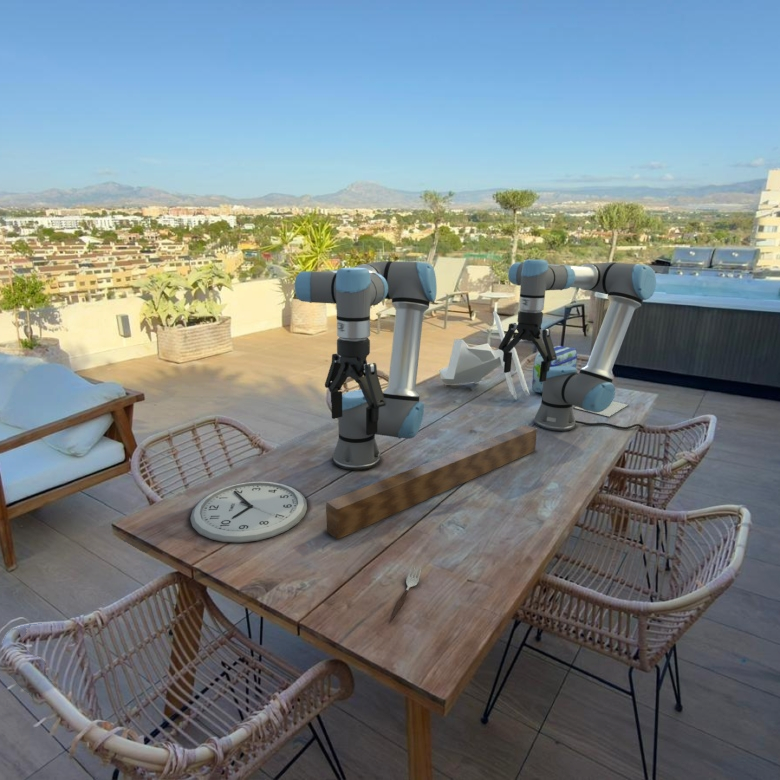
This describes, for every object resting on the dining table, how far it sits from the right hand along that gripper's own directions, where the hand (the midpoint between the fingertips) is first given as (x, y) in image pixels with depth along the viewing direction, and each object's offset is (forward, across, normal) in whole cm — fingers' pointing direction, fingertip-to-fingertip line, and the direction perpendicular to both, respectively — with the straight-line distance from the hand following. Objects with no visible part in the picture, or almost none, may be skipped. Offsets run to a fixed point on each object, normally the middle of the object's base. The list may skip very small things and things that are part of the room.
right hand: (524, 376), depth 169 cm
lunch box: (+28, -33, +74) cm, 85 cm away
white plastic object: (+28, -53, +45) cm, 75 cm away
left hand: (0, 0, -69) cm, 69 cm away
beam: (+27, 0, -34) cm, 44 cm away
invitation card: (+28, -7, +70) cm, 76 cm away
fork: (+28, +28, -77) cm, 87 cm away
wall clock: (+28, -24, -86) cm, 93 cm away
